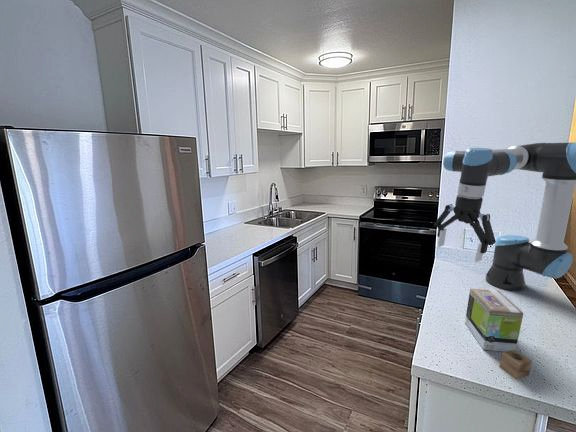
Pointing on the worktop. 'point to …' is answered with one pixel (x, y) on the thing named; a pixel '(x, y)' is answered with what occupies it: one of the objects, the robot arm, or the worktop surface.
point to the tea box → (493, 320)
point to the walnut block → (515, 364)
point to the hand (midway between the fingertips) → (458, 252)
